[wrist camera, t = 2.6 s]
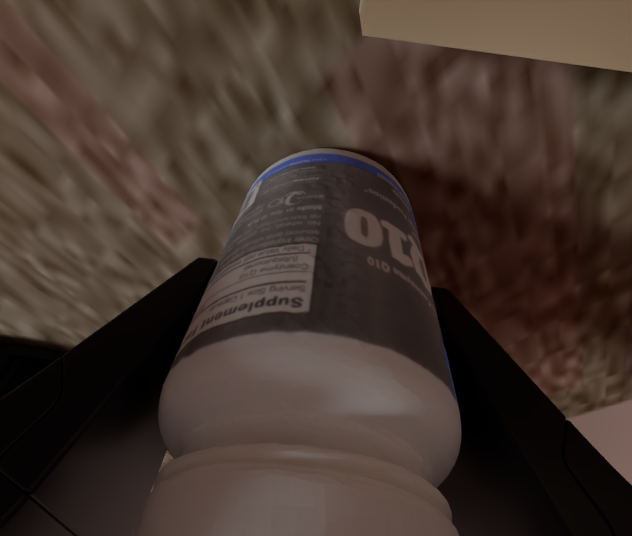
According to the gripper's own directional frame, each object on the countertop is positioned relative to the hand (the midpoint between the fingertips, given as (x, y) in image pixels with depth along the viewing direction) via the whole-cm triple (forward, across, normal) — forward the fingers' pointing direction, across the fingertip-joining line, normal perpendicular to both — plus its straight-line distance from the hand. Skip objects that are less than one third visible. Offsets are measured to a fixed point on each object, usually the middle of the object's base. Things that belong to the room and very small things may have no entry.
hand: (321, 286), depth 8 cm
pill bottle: (+3, 0, 0) cm, 3 cm away
